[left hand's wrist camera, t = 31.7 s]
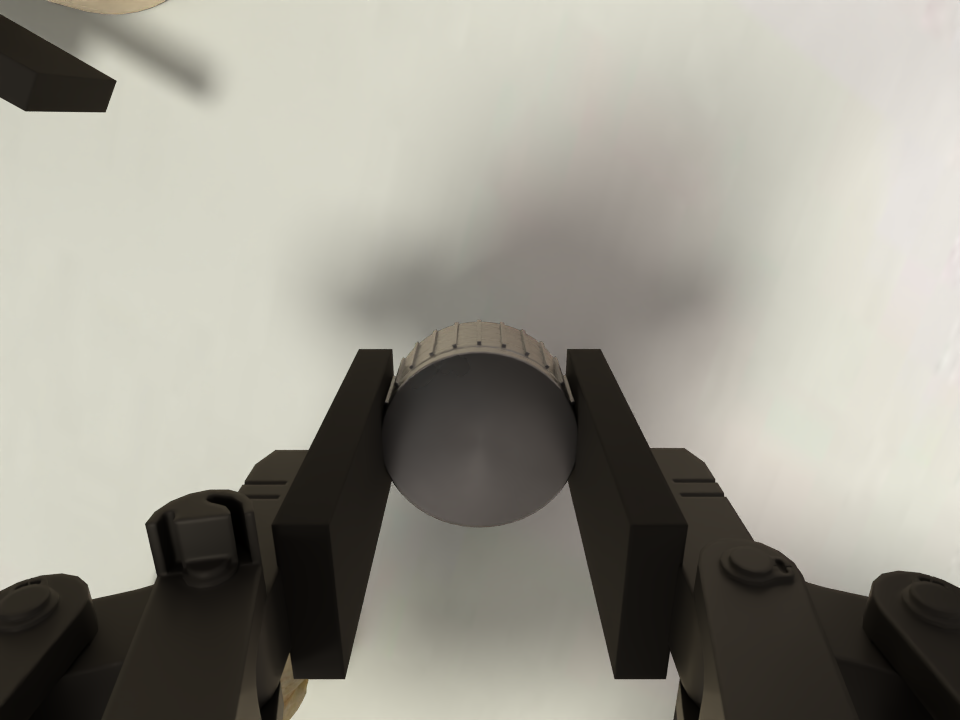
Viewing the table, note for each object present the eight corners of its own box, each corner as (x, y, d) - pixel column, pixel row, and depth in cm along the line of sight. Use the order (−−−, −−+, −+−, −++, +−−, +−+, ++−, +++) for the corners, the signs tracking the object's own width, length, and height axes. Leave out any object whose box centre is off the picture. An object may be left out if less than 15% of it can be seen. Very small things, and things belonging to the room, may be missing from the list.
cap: (603, 423, 15) (620, 466, 13) (458, 509, 16) (455, 561, 14) (504, 281, 14) (507, 307, 12) (352, 383, 14) (334, 422, 13)
